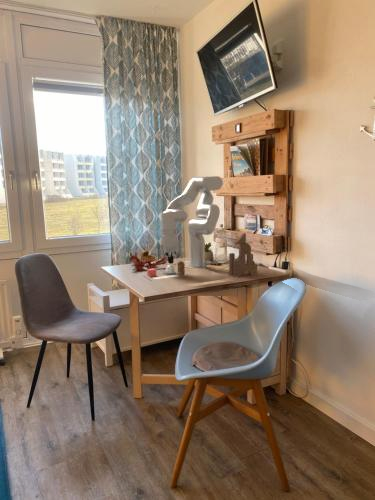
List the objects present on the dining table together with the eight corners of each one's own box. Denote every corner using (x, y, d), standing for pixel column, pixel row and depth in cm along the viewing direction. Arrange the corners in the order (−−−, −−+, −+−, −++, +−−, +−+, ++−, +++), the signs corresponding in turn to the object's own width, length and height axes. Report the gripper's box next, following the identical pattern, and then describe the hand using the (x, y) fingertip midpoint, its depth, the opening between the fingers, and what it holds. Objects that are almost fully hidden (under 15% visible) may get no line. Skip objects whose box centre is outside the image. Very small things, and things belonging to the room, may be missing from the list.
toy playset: (125, 265, 259) (124, 244, 256) (163, 262, 265) (162, 242, 263) (130, 276, 225) (129, 253, 223) (173, 273, 231) (173, 250, 229)
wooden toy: (253, 272, 228) (253, 231, 224) (257, 275, 221) (257, 232, 217) (228, 274, 225) (228, 232, 221) (231, 277, 218) (232, 234, 214)
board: (178, 273, 230) (177, 264, 229) (188, 277, 218) (188, 268, 217) (142, 277, 220) (142, 268, 219) (151, 283, 207) (151, 273, 206)
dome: (172, 271, 226) (172, 263, 226) (176, 273, 222) (175, 265, 221) (164, 272, 224) (164, 264, 223) (168, 274, 219) (167, 266, 219)
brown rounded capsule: (182, 273, 222) (182, 260, 221) (186, 275, 218) (185, 261, 217) (176, 274, 220) (176, 261, 219) (179, 276, 216) (179, 262, 215)
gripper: (178, 230, 226) (179, 260, 229) (155, 232, 219) (156, 263, 223) (183, 231, 219) (185, 262, 223) (160, 234, 213) (161, 266, 216)
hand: (170, 263), depth 223 cm, fingers closed
